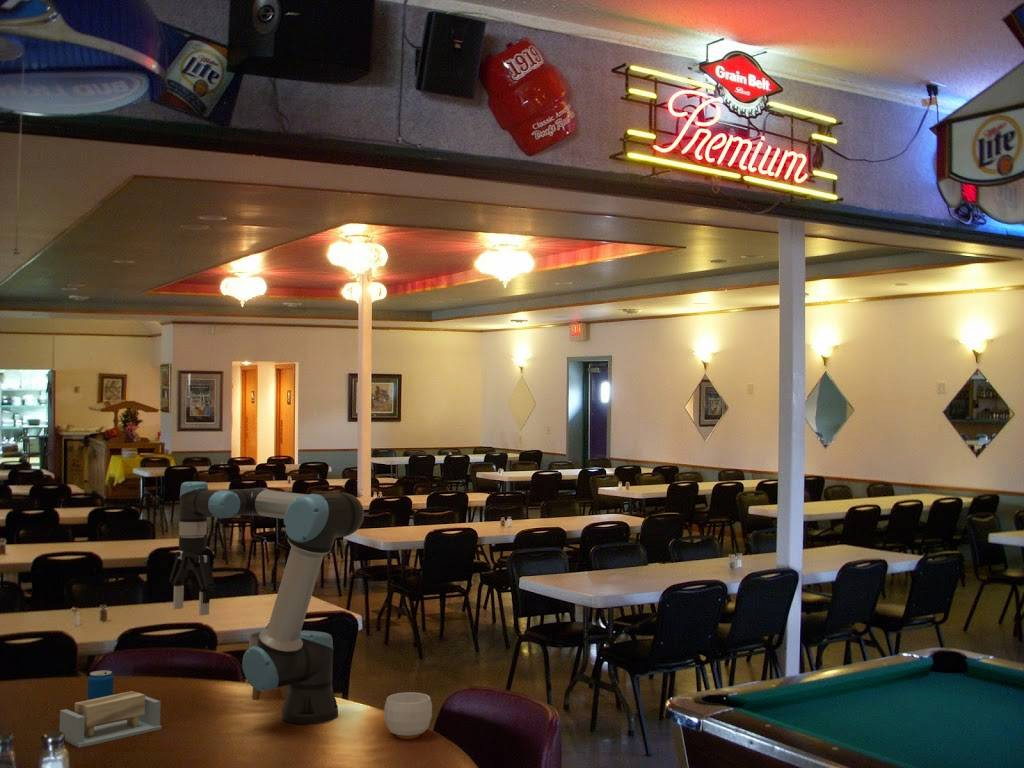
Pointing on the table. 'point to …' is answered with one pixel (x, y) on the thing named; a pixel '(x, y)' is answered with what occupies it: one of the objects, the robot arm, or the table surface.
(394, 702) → the cup
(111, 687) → the beverage can
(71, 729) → the peg frame
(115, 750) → the table surface
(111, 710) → the shelf board
